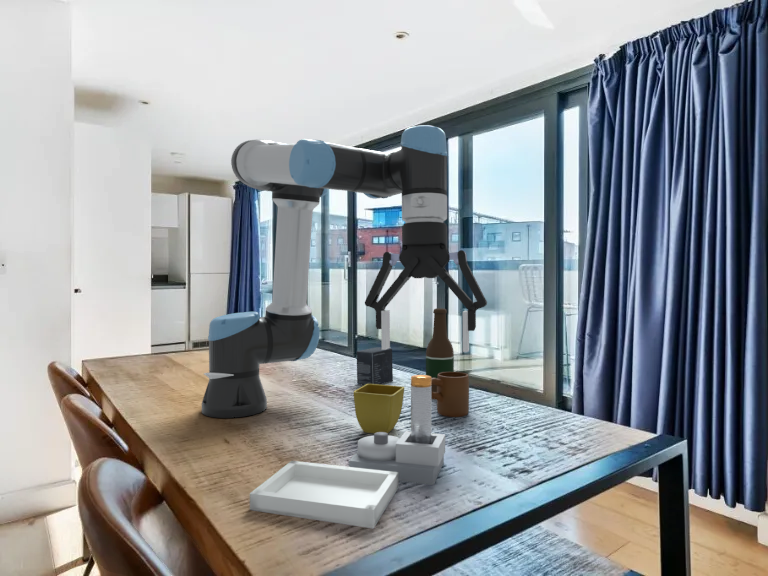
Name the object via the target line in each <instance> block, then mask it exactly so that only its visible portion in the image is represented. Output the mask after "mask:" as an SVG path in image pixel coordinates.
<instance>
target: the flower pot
mask: <svg viewBox="0 0 768 576" xmlns="http://www.w3.org/2000/svg"><path fill="white" fill-rule="evenodd" d="M352 393H353V402H354V411H355V417H356V420H357V423H358V425H359V426H360V428H361V429H362V431H363V432H364V433H369V434H374V433H377V432H385V433H388V434H389V433H390V432H391V431H393V429H395V427H396V425H397V424H398V422H399V418H400V416H401V413H402V409H403V403H404V394H405V386H401V385H399V386H398V385H388V384H380V385H379V384H366V385H361V387H359V388H357V389H355V390H354V391H353V392H352Z"/></svg>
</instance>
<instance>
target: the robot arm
mask: <svg viewBox="0 0 768 576" xmlns="http://www.w3.org/2000/svg"><path fill="white" fill-rule="evenodd" d="M448 155H449V154H448V148H447V138H446V133H445V131H444V130H443V129H442V128H440V127H437V126H434V125H415V126H411V127H408V128H406V129H404V130H403V132H402V133H401V139H400V148H396V149H395V150H391V151H389V152H388V151H387V152H383V151H377V150H372V149H371V150H370V149H366V148H360V147H359V148H358V147H352V146H346V145H343V144H337V143H331V142H326V141H324V140H319V139H309V138H308V139H307V138H303V139H299V140H297V142H296V143H285V142H278V141H274V140H273V141H272V140H269V139H251V140H250V139H249V140H246V141H243V142H241V143H240V144H238V146H236V147H235V149H234V150H233V152H232V155H231V158H230V159H231V160H230V162H231V163H230V164H231V169H232V172H233V174H234V175H235V177H236V178H237V179H238V180H239V181H240V182H241V183H242V184H244V185H246V186H247V187H249V188H253V189H255V190H259V191H265V192H271V193H272V195H271V200H272V201H273V203H274V204H275V205H276V206H277V217H276V232H275V248H274V249H275V251H274V266H273V267H274V269H273V283H272V301H271V303H270V304H268V306H266V307H265V316H260V314H259V312H257V311H245V312H243V311H242V312H235V313H229V314H223V315H219V316H217V317H215V318H213V319H212V320H211V321H210V322H209V325H208V326H209V328H208V336H207V340H208V362H209V364H208V368H209V369H208V373H209V372H213V373H225V374H233V376H228V377H222V378H216V379H210V378H208V382H207V385H206V389H205V392H204V395H203V398H202V401H201V414H202V415H204V416H206V417H210V418H216V419H217V418H220V419H231V418H232V419H233V418H234V417H235V418H243V417H248V416H253V415H257V414H259V413H262V411H263V412H264V411H266V410H267V409H268V408H267V407H268V400H267V396H266V393H265V389H264V387H263V383H262V382H261V378H260V365H262V364H273V363H275V364H276V363H281V362H282V363H284V362H297V361H301V360H306V359H309V358H310V357H311V356H312V354H314V353H315V351H316V349H317V347H318V344H319V341H320V340H319V339H320V333H321V331H320V327H319V322H318V321H319V320H318V319H317V318H316V316H314V315H312V312H313V310H312V309H311V308H310V306H309V305H308V304H307V301H308V299H307V298H308V288H309V287H308V285H309V274H310V273H309V272H310V271H309V270H310V255H311V242H312V241H311V240H312V228H313V227H312V226H313V214H314V213H313V212H314V209H315V208H316V207H318V206H319V205H320V200H321V199H320V198H322V197H324V196H326V195H327V193H329V190H333V191H334V190H335V191H337V190H338V191H345V192H346V191H347V192H352V193H360V194H364V195H365V196H366V197H368V198H369V199H375V200H376V199H387V198H390V197H392V196H395V195H399V194H401V220H402V221H403V222H405V223H403V224H402V226H401V252H400V253H393V252H389V251H385V252H383V255H382V265H381V267H380V269H379V271H378V273H377V276H376V278H375V280H374V282H373V283H372V285H371V288H370V290H369V292H368V295H367V296H366V299H365V301H364V305H365V307H369V308H372V309H374V311H375V328H376V330H381V331H380V332H381V333H380V335H381V348H382V350H386V349H388V348H391V341H390V340H391V334H390V333H391V329H390V328H391V326H390V325H391V324H390V323H391V322H390V321H391V317H390V313H391V310H390V309H386V307H387V306H389V304H390V303H391V302H392V300H393V299H394V298H395V297H396V296H397V294H398V293H399V292H400V290H401V289H402V288H403V286H404V285H405V284H406V283H407V282H408V281H409V280H410V279H411V277H412V278H413V279H423V278H426V279H437V278H438V277H439V278H440V279H441V280H442V281H443V282H444V283H445V285H446V286H447V287H448V288H449V289H450V291H451V292H452V293H453V294H454V295H455V297H456V298H457V299H458V300H459V301H460V302H461V303H462V304H463V306H464V307H465V308H466V310H464V311H462V352H463V353H468V352H469V351H470V332H474V331H475V330H476V328H477V310H480V309H482V308H484V307H486V306H487V304H488V301H487V299H486V297H485V295H484V293H483V292H482V290H481V288H480V285H479V284H478V282H477V279H476V278H475V276H474V273H473V272H472V269H471V268H470V265H469V264H468V254H467V253H466V251H465V250H462V249H461V250H458V251H454V252H449V250H448V225H447V223H445V221H446V220H447V219H448V196H447V195H448V194H447V192H448V191H447V190H448V189H447V187H448V185H447V184H448V180H447V179H448V169H447V167H448ZM451 260H452V261H453V262H454V263H453V264H455V265H456V266H458V267H459V268H460V271H461V273H462V275H463V277H464V280H466V283H467V285H468V287H469V288H470V291H471V292H472V294H473V296H474V298H475V300H476V301H475V302H474V301H473V300H472V299H471V298H470V297H469V295H468V294H467V293H466V292H465V291H464V290H463V288H462V287H461V286H460V285H459V284H458V282H456V280H455V279H454V278H453V276H451V274H450V273H449V272H448V270H446V266H447V265H448V264H449V263H450V261H451ZM397 262H400V263H401V265H402V266H403V267H404V268H403V270H402V271H401V272H400V273H399V275H398V277H397V278H396V279H395V280H394V281H393V283H392V284H391V285H389V288H388V289H387V290H386V291H385V293H384V294H383V295H382V296H381V298H379V297H380V294H381V293H382V291H383V288H384V286H385V284H386V282H387V280H388V277H389V276H390V273H391V271H392V269H393V266H394V267H395V266H396V265H397ZM378 299H379V300H378ZM265 409H266V410H265Z"/></svg>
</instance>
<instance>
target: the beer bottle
mask: <svg viewBox="0 0 768 576" xmlns="http://www.w3.org/2000/svg"><path fill="white" fill-rule="evenodd" d="M432 312H433V314H434V315H433V327H432V329H433V331H432V337H431V339H430V341H429V342H428V344H427V347H426V351H425V375H427V376H431V378H437V376H438V373H442V372H455V369H454V368H455V365H454V364H455V359H454V358H455V354H454V353H455V352H454V347H453V344H452V342H451V341H450V339H449V337H448V331H447V317H446V316H447V313H448V312H447V309H446V308H439V307H438V308H434V309H433V311H432ZM431 390H432V392H437V386H436V385H434V384H432V385H431Z"/></svg>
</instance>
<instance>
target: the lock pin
mask: <svg viewBox="0 0 768 576" xmlns="http://www.w3.org/2000/svg"><path fill="white" fill-rule="evenodd" d="M410 431H411V443H420V444H431V433H432V399H431V376H427V375H426V374H415V375H411V376H410Z"/></svg>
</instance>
